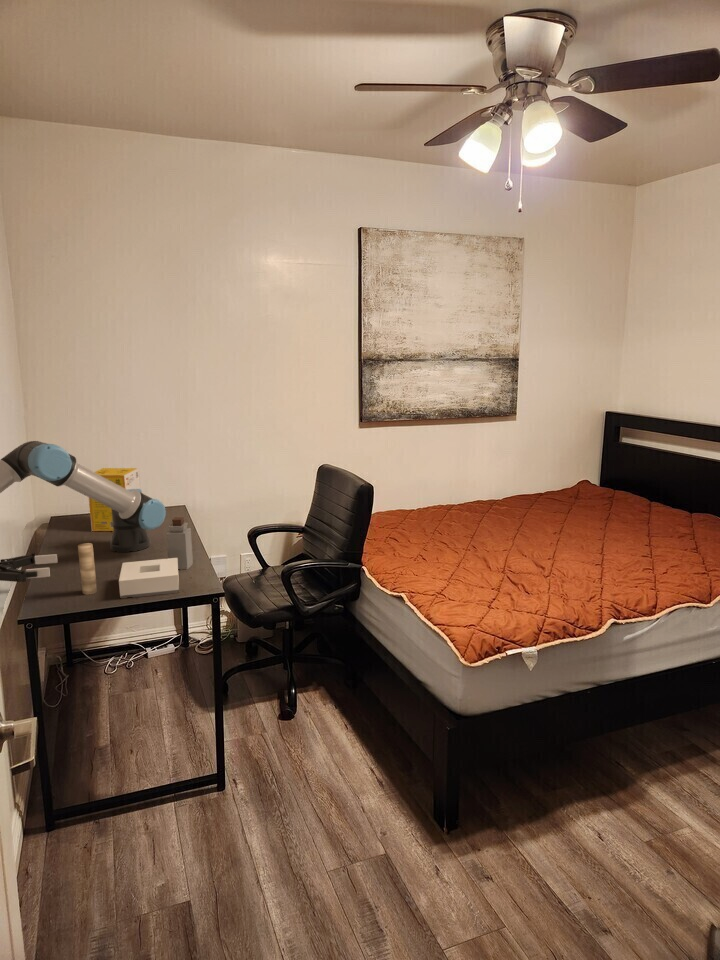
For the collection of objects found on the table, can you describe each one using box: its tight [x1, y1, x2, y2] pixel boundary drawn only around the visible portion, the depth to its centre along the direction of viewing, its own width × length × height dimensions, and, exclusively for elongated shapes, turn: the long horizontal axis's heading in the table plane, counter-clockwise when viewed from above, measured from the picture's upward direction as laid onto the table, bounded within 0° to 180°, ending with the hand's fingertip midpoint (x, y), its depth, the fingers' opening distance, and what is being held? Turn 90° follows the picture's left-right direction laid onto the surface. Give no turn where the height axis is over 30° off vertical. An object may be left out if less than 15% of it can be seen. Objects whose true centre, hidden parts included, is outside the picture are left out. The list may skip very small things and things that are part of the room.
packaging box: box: [88, 467, 141, 532], centre depth 280 cm, size 16×16×25 cm
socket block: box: [118, 558, 180, 599], centre depth 212 cm, size 18×18×6 cm
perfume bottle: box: [165, 516, 194, 571], centre depth 230 cm, size 7×7×18 cm
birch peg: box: [77, 542, 98, 596], centre depth 206 cm, size 4×4×16 cm
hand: (53, 564), depth 203 cm, fingers open, 13 cm apart
